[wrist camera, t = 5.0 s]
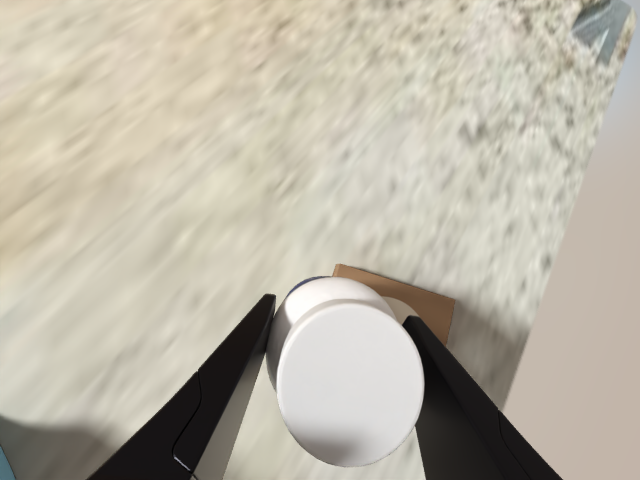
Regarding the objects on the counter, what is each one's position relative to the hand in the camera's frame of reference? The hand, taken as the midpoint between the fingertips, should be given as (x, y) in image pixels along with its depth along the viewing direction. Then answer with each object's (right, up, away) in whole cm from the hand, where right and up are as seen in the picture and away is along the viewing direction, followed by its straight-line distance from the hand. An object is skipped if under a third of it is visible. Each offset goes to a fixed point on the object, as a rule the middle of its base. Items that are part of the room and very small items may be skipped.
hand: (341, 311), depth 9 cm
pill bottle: (-1, -2, +7) cm, 7 cm away
